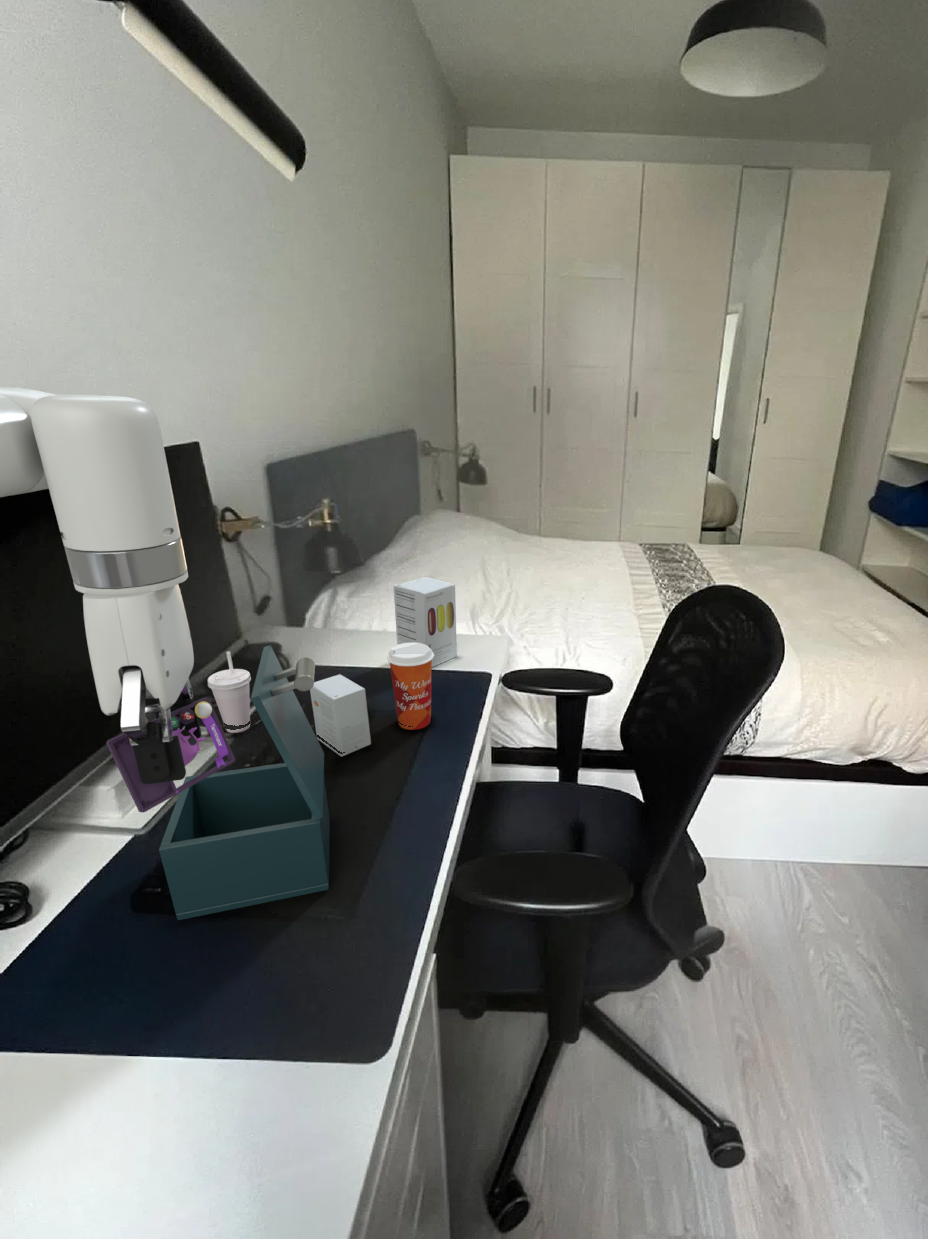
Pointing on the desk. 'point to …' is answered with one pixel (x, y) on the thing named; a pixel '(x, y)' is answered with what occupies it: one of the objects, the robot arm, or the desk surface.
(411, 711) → the paper cup
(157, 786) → the purple photo frame
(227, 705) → the smoothie
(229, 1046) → the desk surface
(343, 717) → the small box
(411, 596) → the supplement box
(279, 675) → the bin lid
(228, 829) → the bin
